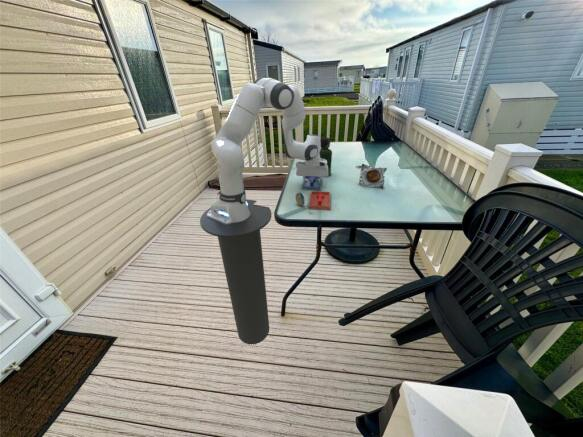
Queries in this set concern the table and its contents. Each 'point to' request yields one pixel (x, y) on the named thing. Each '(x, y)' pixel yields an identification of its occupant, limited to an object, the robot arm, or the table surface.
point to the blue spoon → (312, 180)
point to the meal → (372, 176)
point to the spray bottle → (326, 152)
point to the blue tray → (315, 186)
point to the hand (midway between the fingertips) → (311, 182)
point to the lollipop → (300, 199)
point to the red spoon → (320, 198)
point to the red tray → (314, 200)
